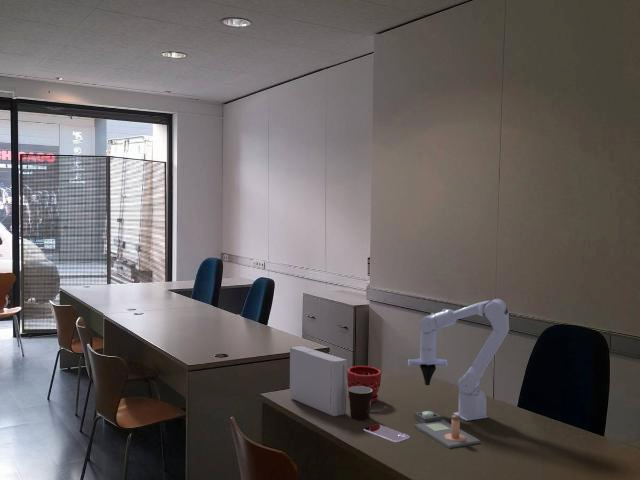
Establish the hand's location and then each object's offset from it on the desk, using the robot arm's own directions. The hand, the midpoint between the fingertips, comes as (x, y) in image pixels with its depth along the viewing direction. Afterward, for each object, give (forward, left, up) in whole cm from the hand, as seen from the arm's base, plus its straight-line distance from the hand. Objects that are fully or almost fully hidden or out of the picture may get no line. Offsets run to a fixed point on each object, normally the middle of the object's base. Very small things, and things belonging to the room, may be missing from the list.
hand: (427, 384), depth 228 cm
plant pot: (+17, -18, -10) cm, 27 cm away
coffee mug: (+26, -2, -10) cm, 28 cm away
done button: (+6, +10, -10) cm, 16 cm away
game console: (+37, -19, -10) cm, 42 cm away
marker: (+8, +29, -8) cm, 31 cm away
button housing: (+6, +10, -9) cm, 15 cm away
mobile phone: (+26, +16, -10) cm, 32 cm away
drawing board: (+8, +24, -9) cm, 27 cm away
